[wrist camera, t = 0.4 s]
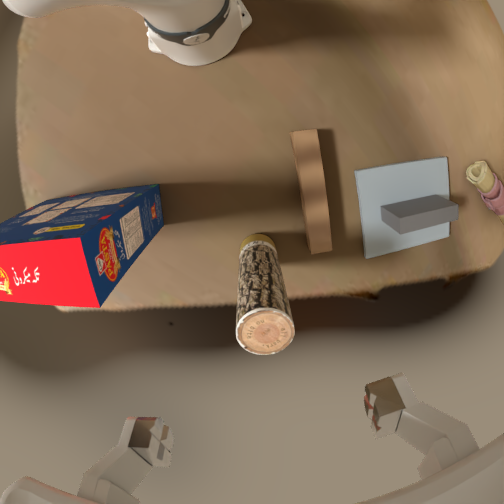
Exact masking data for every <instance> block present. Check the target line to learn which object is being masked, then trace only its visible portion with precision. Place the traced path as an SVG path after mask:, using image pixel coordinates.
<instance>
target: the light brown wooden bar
mask: <svg viewBox="0 0 504 504" xmlns="http://www.w3.org/2000/svg"><path fill="white" fill-rule="evenodd" d="M290 137H291V142H292V148H293V153H294V159H295V165H296V171H297V177H298V183H299V189H300V196H301V202H302V209H303V216H304V223H305V230H306V238H307V245H308V248H309V250H310V252H311V254H317V253H322V252H327V251H332V240H331V230H330V220H329V211H328V202H327V194H326V187H325V179H324V172H323V165H322V159H321V152H320V146H319V140H318V134H317V129H308V130H300V131H293V132H290Z"/></svg>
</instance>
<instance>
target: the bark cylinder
mask: <svg viewBox="0 0 504 504" xmlns="http://www.w3.org/2000/svg"><path fill="white" fill-rule="evenodd" d="M293 337H294V324H293V319H292V315H291V310H290V306H289V302H288V297H287V293H286V289H285V284H284V280H283V276H282V272H281V267H280V263H279V259H278V255H277V251H276V247H275V244H274V242H273V241H272V240H271V239H270V238H269V237H268V236H266V235H263V234H253V235H250V236H248V237H247V238H246V239H245V240H244V241H243V242H242V244H241V247H240V258H239V276H238V296H237V317H236V338H237V340H238V342H239V344H240V345H241V346H242V347H243V348H244V349H245V350H247V351H249V352H252V353H254V354H260V355H266V354H273V353H276V352H279V351H281V350H283V349H284V348H286V347H287V346H288V345H289V344H290V343H291V341H292V339H293Z"/></svg>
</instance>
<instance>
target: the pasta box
mask: <svg viewBox="0 0 504 504" xmlns="http://www.w3.org/2000/svg"><path fill="white" fill-rule="evenodd" d="M163 226H164V222H163V215H162V207H161V199H160V190H159V184H153V185H144V186H135V187H127V188H119V189H112V190H105V191H98V192H92V193H85V194H79V195H73V196H67V197H62V198H56V199H51V200H46V201H44V202H42V203H40V204H38V205H35V206H33V207H31V208H29V209H27V210H25V211H23V212H22V213H19V214H18V215H16V216H14V217H12V218H10V219H8V220H6V221H4V222H2V223H1V224H0V301H10V302H20V303H32V304H44V305H58V306H75V307H96V308H100V307H101V306H102V304H103V303H104V301H105V300H106V299H107V297H108V296H109V294H110V293H111V292H112V290H113V289H114V288H115V286H116V285H117V284H118V282H119V281H120V280H121V278H122V277H123V276H124V274H125V273H126V272H127V270H128V269H129V268H130V266H131V265H132V264H133V263H134V261H135V260H136V259H137V258H138V256H139V255H140V254H141V252H142V251H143V250H144V249H145V247H146V246H147V245H148V244H149V243H150V241H151V240H152V239H153V238H154V236H155V235H156V234H157V233H158V232H159V230H160V229H161V228H162V227H163Z"/></svg>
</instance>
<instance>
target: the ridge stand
mask: <svg viewBox="0 0 504 504" xmlns="http://www.w3.org/2000/svg"><path fill="white" fill-rule="evenodd" d="M354 172H355V178H356V185H357V192H358V199H359V207H360V215H361V224H362V234H363V245H364V257H365V258H366V259H369V258H373V257H376V256H380V255H384V254H388V253H391V252H395V251H399V250H402V249H406V248H410V247H413V246H417V245H421V244H424V243H428V242H431V241H435V240H438V239H442V238H445V237H448V236H449V222H451V221H455V220H458V204H456V203H454V202H452V201H450V200H449V178H448V164H447V157H436V158H428V159H421V160H414V161H407V162H401V163H394V164H388V165H382V166H376V167H370V168H365V169H359V170H354Z"/></svg>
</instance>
